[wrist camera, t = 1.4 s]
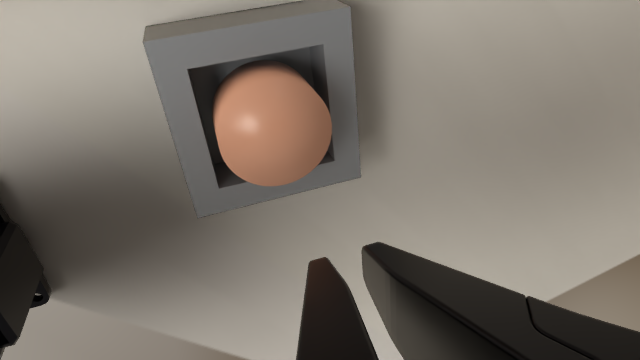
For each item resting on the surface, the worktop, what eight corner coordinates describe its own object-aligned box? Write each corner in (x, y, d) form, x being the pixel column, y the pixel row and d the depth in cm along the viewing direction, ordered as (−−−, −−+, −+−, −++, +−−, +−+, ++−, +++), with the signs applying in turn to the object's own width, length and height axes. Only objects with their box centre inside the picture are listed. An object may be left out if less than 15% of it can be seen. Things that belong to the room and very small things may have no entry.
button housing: (194, 187, 20) (197, 218, 18) (145, 26, 16) (142, 41, 14) (341, 152, 21) (361, 177, 19) (328, -4, 17) (350, 6, 15)
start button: (224, 167, 18) (231, 197, 16) (200, 70, 16) (205, 92, 14) (318, 145, 19) (336, 172, 17) (307, 51, 17) (326, 68, 15)
